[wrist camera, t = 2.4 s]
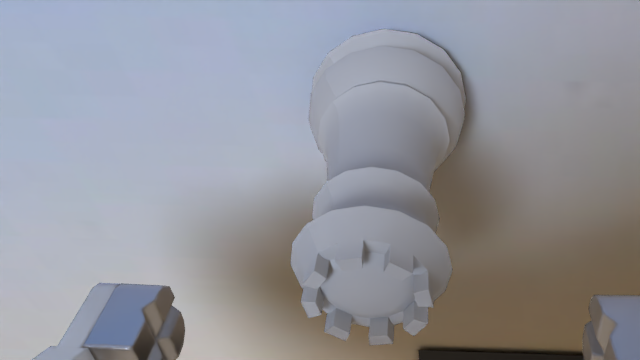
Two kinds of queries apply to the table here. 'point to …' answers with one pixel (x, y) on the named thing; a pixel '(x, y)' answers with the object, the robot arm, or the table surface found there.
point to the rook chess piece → (379, 184)
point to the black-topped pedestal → (490, 356)
